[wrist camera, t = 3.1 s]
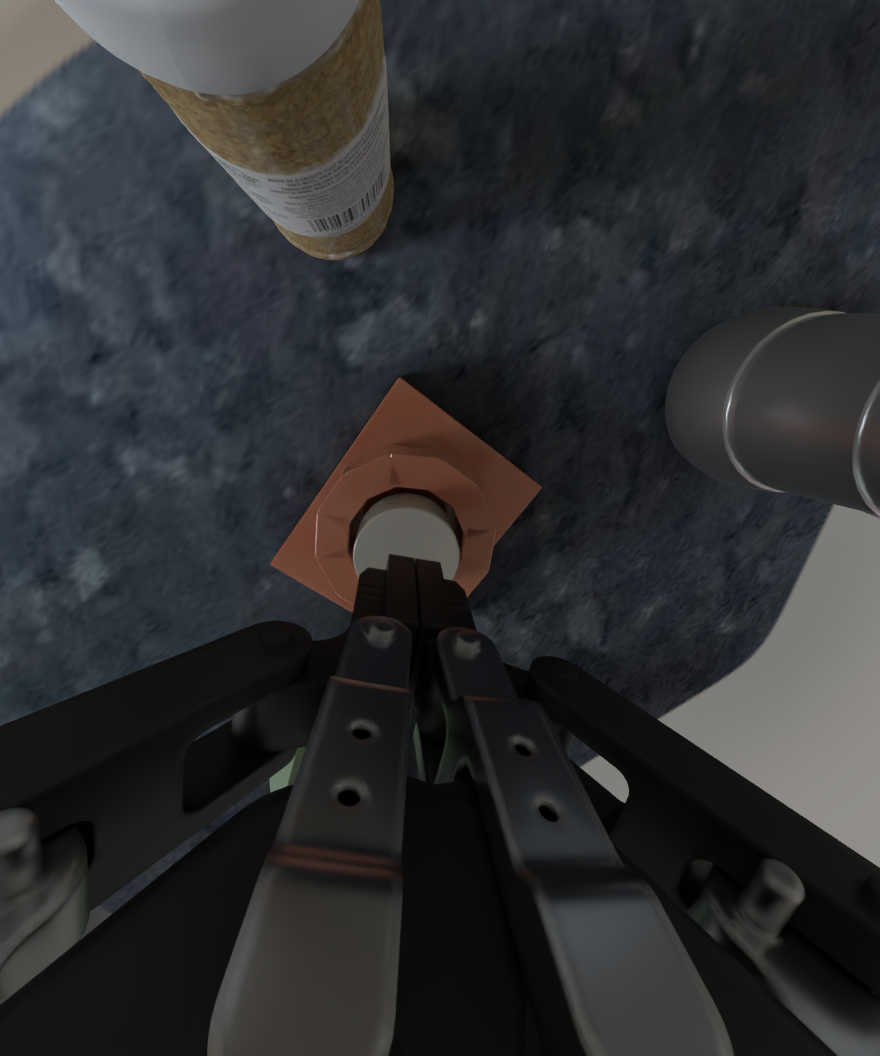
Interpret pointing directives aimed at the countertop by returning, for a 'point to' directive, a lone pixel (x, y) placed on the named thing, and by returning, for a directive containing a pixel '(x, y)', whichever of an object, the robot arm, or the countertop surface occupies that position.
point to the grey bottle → (784, 404)
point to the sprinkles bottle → (272, 102)
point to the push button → (406, 534)
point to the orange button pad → (407, 467)
